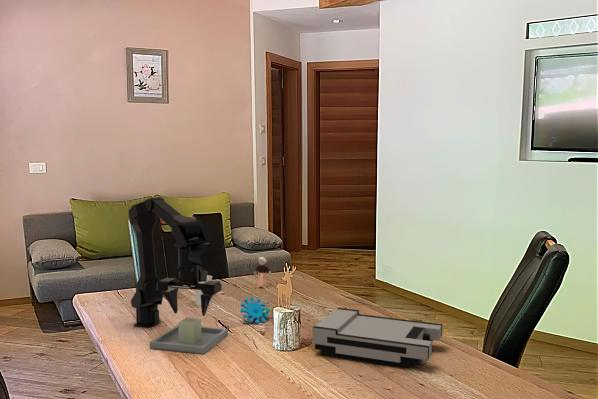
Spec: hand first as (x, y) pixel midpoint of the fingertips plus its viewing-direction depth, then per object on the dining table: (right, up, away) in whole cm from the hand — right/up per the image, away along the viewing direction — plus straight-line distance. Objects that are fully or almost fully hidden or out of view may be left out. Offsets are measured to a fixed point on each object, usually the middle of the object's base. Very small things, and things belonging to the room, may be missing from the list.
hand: (189, 314), depth 172 cm
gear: (+18, -7, +21) cm, 28 cm away
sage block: (0, -8, +1) cm, 8 cm away
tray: (0, -8, +1) cm, 9 cm away
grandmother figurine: (+18, -2, +65) cm, 67 cm away
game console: (+55, -9, -7) cm, 56 cm away
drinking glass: (-3, -5, +42) cm, 42 cm away
